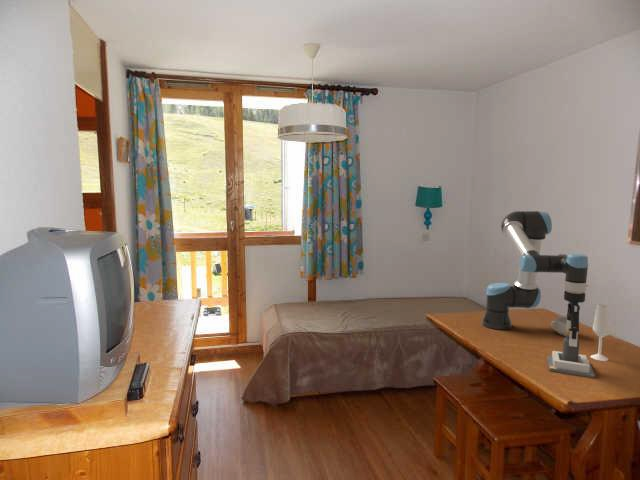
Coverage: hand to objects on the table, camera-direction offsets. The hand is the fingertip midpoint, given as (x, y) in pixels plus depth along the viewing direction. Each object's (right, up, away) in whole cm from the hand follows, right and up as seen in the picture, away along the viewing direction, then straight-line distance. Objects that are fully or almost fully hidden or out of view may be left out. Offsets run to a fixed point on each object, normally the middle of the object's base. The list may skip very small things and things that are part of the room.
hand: (571, 340), depth 178 cm
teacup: (+21, -7, +42) cm, 47 cm away
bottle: (0, -11, +1) cm, 11 cm away
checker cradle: (0, -12, +1) cm, 12 cm away
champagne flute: (+19, -11, +11) cm, 24 cm away
